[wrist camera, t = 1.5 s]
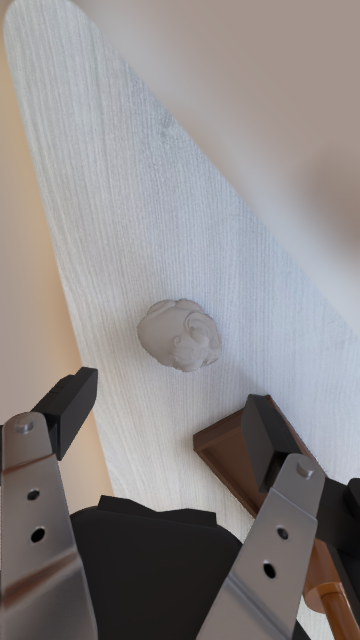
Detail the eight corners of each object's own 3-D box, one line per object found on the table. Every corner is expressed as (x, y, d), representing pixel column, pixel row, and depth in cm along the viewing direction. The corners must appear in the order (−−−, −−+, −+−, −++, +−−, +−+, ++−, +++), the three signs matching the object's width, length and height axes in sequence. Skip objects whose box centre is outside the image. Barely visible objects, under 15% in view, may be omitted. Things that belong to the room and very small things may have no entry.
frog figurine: (205, 354, 25) (211, 396, 18) (140, 339, 25) (122, 376, 18) (222, 299, 23) (235, 323, 16) (151, 282, 23) (135, 300, 16)
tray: (192, 435, 28) (193, 449, 26) (269, 394, 26) (275, 406, 24) (299, 558, 35) (306, 577, 33) (368, 533, 32) (380, 552, 30)
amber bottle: (278, 480, 29) (335, 632, 18) (318, 486, 29) (400, 642, 18) (267, 507, 31) (313, 664, 19) (305, 513, 31) (372, 672, 19)
